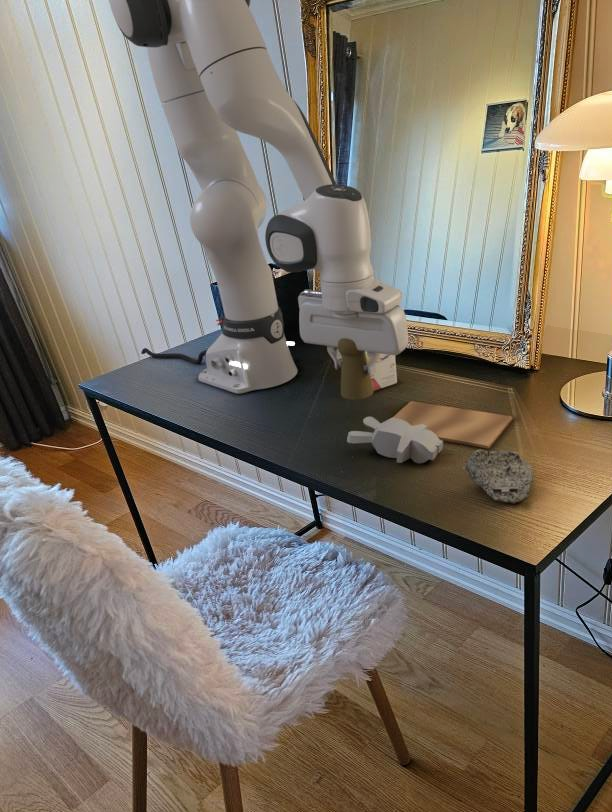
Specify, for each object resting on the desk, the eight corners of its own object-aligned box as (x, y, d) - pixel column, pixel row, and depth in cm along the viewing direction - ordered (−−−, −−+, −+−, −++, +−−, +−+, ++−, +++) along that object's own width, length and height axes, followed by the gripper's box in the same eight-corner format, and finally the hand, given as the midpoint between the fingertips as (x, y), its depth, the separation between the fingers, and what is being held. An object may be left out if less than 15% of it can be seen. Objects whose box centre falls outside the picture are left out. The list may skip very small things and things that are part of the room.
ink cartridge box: (363, 396, 128) (354, 322, 120) (350, 388, 132) (340, 317, 123) (398, 382, 131) (392, 310, 123) (385, 376, 135) (378, 305, 127)
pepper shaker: (370, 399, 115) (365, 340, 109) (337, 399, 116) (330, 340, 110) (376, 385, 120) (371, 327, 114) (344, 385, 121) (338, 327, 115)
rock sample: (488, 495, 88) (489, 434, 90) (459, 507, 94) (460, 450, 97) (551, 507, 91) (550, 448, 94) (519, 517, 98) (519, 463, 100)
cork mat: (382, 429, 115) (382, 426, 115) (411, 403, 123) (410, 400, 122) (488, 448, 106) (488, 445, 105) (512, 419, 113) (512, 416, 113)
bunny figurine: (425, 452, 99) (341, 427, 105) (424, 479, 102) (342, 454, 108) (450, 424, 105) (370, 402, 111) (448, 450, 109) (370, 428, 114)
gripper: (286, 293, 111) (297, 369, 118) (392, 304, 101) (397, 386, 109) (307, 283, 115) (317, 357, 123) (410, 292, 106) (414, 372, 113)
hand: (355, 371), depth 116 cm, fingers closed on pepper shaker, 4 cm apart
